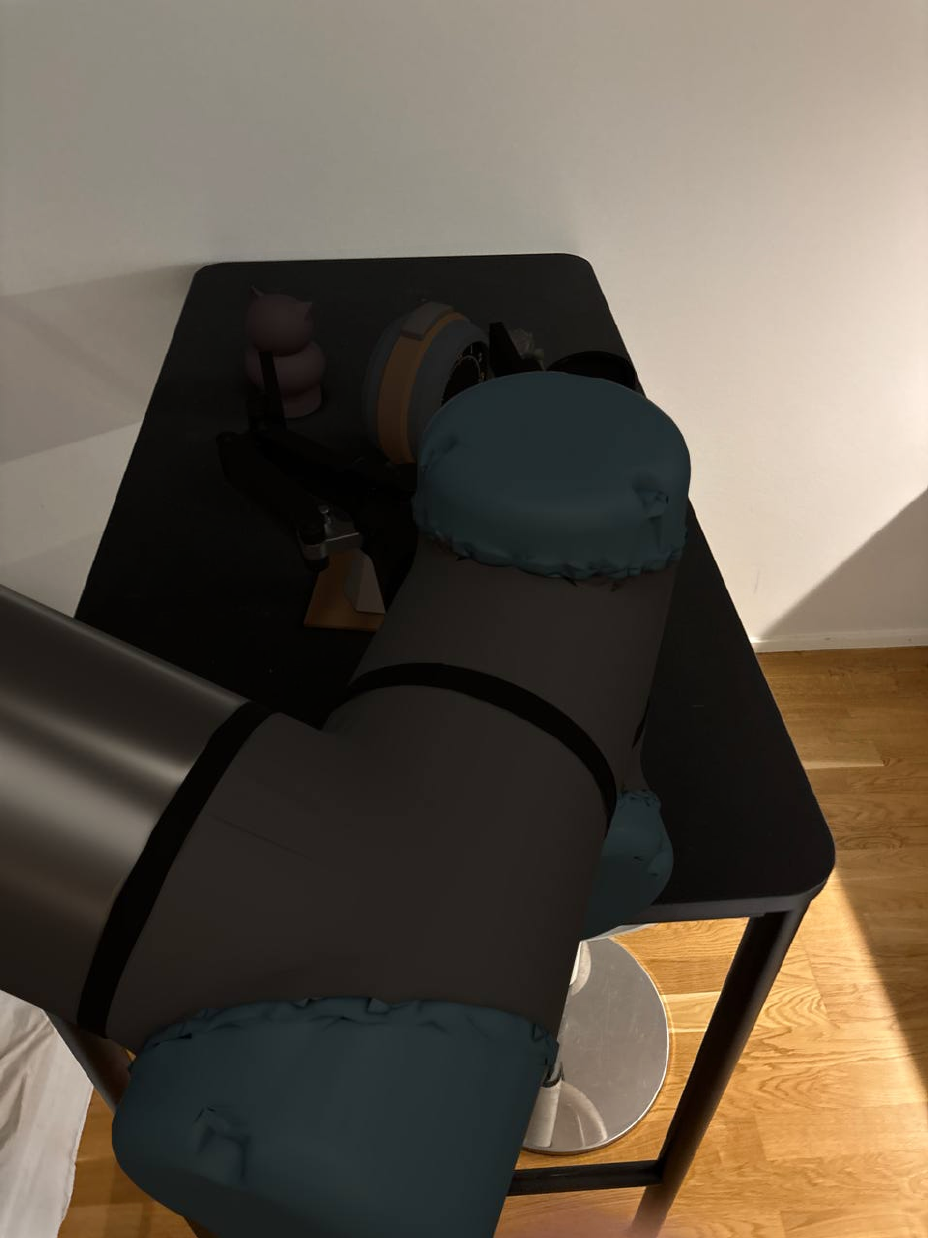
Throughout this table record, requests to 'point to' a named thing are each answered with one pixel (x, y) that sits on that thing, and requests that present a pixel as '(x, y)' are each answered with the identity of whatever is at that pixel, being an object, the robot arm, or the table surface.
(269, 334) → the cat figurine
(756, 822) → the table surface
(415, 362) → the alarm clock
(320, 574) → the wooden board
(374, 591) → the flask
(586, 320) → the table surface
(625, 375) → the coffee cup
